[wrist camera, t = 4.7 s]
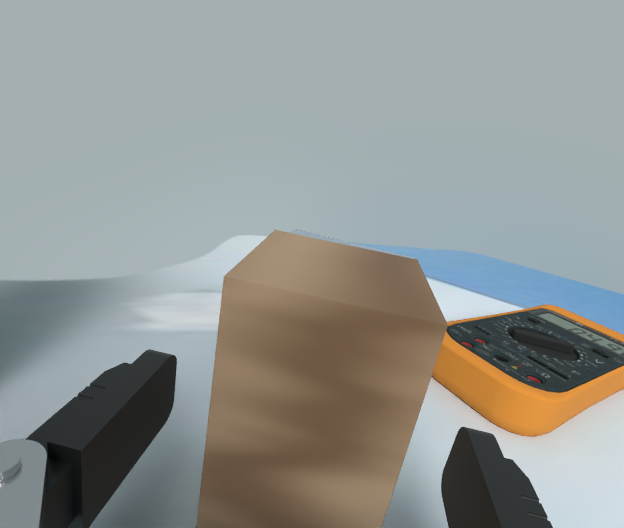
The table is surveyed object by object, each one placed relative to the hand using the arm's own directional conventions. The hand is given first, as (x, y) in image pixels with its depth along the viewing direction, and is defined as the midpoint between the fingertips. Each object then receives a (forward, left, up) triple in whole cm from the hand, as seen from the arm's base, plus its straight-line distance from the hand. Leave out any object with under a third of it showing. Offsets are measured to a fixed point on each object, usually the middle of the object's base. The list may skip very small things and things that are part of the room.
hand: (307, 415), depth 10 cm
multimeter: (+15, +17, -7) cm, 24 cm away
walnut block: (0, +2, -6) cm, 6 cm away
